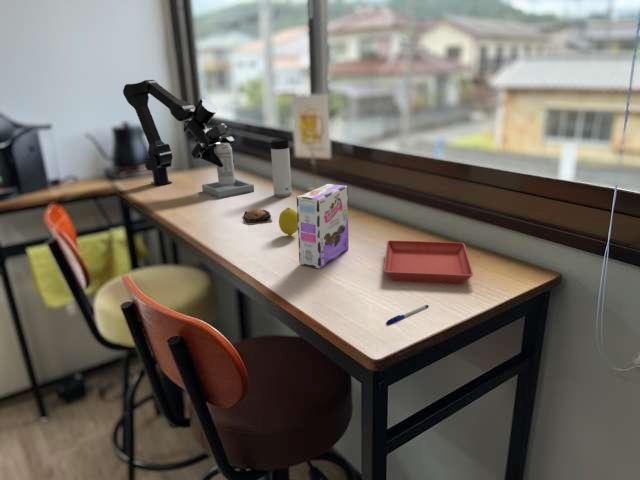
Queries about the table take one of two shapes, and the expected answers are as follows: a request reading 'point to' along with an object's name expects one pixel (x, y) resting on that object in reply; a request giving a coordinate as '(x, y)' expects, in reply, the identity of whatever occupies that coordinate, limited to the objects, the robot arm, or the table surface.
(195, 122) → the robot arm
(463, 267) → the plant saucer
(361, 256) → the table surface
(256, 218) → the abalone
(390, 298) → the table surface
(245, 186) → the tray
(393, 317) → the ballpoint pen
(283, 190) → the travel mug
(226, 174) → the energy drink can
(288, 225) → the lemon
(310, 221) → the candy box
